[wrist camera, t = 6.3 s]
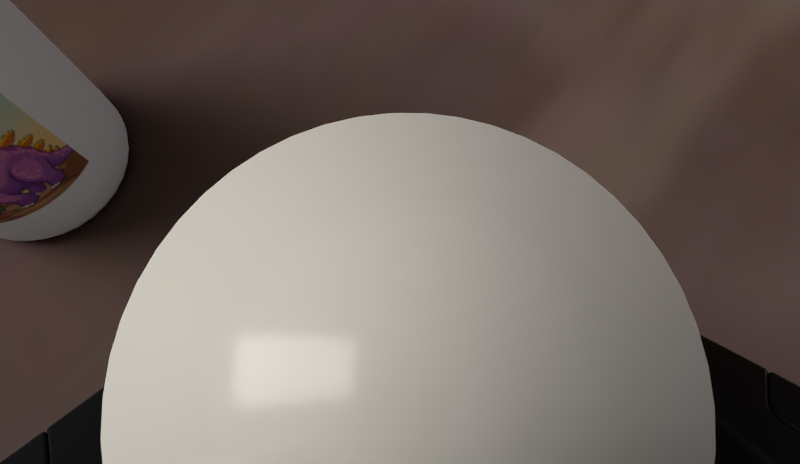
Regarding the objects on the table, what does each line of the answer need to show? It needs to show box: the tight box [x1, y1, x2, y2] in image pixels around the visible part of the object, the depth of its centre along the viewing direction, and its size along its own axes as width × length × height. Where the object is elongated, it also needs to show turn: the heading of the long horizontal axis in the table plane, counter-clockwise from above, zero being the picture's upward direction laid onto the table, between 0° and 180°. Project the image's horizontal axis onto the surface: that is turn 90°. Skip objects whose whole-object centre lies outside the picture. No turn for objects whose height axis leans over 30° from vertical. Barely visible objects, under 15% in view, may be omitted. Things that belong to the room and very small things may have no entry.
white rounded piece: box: [101, 113, 716, 464], centre depth 10 cm, size 6×6×11 cm
